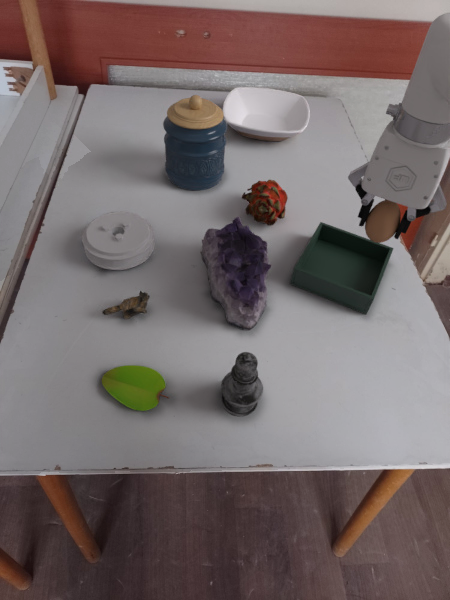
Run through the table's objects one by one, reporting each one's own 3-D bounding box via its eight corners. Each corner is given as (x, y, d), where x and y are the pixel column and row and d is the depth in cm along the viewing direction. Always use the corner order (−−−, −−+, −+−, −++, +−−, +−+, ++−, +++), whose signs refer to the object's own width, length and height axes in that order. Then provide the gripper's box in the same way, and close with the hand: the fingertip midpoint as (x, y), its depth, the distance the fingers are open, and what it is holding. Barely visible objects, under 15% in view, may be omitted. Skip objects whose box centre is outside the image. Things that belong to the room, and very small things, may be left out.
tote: (386, 263, 85) (393, 248, 82) (366, 314, 77) (373, 299, 74) (316, 237, 89) (320, 221, 86) (289, 283, 80) (293, 267, 77)
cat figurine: (156, 314, 74) (149, 299, 70) (109, 328, 73) (100, 314, 70) (153, 301, 75) (146, 286, 72) (107, 315, 75) (98, 301, 72)
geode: (288, 325, 74) (292, 288, 66) (220, 340, 74) (215, 304, 65) (258, 239, 86) (257, 199, 78) (199, 251, 86) (192, 211, 77)
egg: (391, 252, 74) (409, 215, 68) (359, 247, 74) (374, 209, 68) (390, 232, 77) (407, 194, 71) (359, 227, 77) (374, 189, 71)
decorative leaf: (128, 425, 62) (127, 423, 61) (97, 378, 66) (96, 375, 65) (175, 394, 65) (174, 392, 64) (143, 351, 69) (142, 348, 68)
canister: (212, 197, 95) (216, 118, 81) (155, 183, 97) (150, 103, 84) (231, 165, 103) (237, 88, 90) (179, 152, 105) (177, 75, 92)
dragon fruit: (263, 243, 89) (255, 212, 98) (301, 221, 86) (289, 191, 95) (240, 213, 84) (234, 183, 93) (280, 189, 81) (269, 160, 90)
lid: (115, 284, 78) (111, 264, 74) (71, 248, 83) (65, 227, 79) (168, 249, 84) (167, 229, 80) (125, 217, 89) (122, 197, 85)
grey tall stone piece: (234, 374, 68) (242, 327, 58) (267, 396, 66) (280, 350, 57) (211, 402, 64) (215, 357, 55) (245, 426, 62) (254, 383, 53)
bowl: (227, 102, 122) (229, 83, 118) (306, 112, 121) (310, 93, 117) (215, 144, 108) (216, 124, 104) (305, 156, 107) (309, 136, 103)
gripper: (354, 117, 59) (323, 222, 73) (488, 155, 55) (428, 260, 69) (369, 94, 64) (337, 198, 78) (494, 129, 60) (436, 232, 73)
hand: (380, 226), depth 73 cm, fingers closed on egg, 5 cm apart
